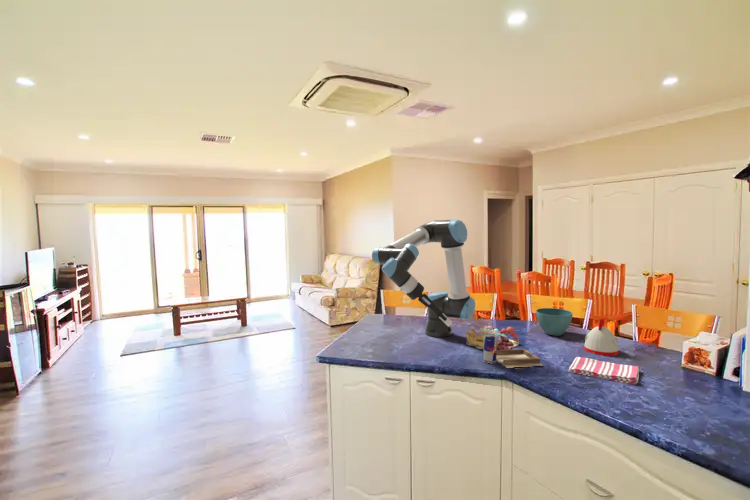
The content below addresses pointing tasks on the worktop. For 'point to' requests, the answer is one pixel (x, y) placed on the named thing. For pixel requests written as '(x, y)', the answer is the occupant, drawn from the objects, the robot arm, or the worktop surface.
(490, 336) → the energy drink
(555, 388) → the worktop surface
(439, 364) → the worktop surface
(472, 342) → the food platter
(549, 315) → the teal bowl
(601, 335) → the white red-trimmed dome
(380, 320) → the worktop surface
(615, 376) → the dish towel
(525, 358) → the brown flat tray
